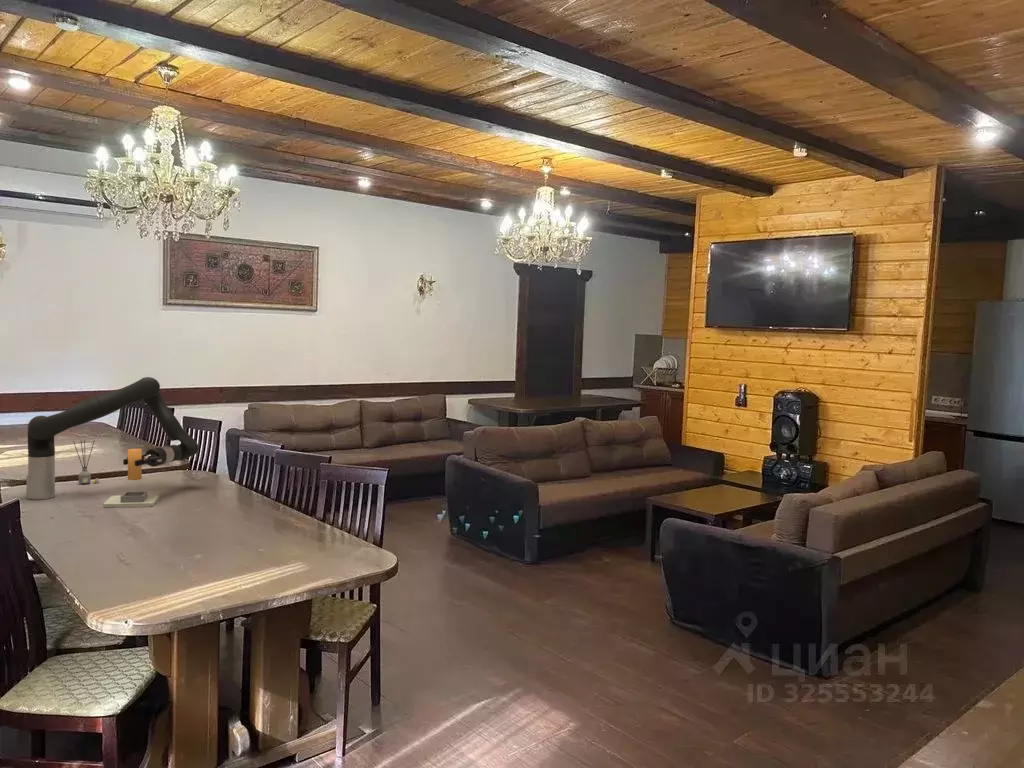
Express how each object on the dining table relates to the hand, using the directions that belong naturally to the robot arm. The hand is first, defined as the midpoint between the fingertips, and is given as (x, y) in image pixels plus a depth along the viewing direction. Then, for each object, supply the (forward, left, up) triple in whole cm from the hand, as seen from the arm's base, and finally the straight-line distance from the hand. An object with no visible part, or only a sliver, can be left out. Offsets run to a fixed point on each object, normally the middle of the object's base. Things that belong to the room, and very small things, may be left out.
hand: (129, 462), depth 300 cm
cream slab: (0, +3, -17) cm, 17 cm away
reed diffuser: (-26, +42, -17) cm, 52 cm away
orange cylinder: (+1, +2, -7) cm, 7 cm away
